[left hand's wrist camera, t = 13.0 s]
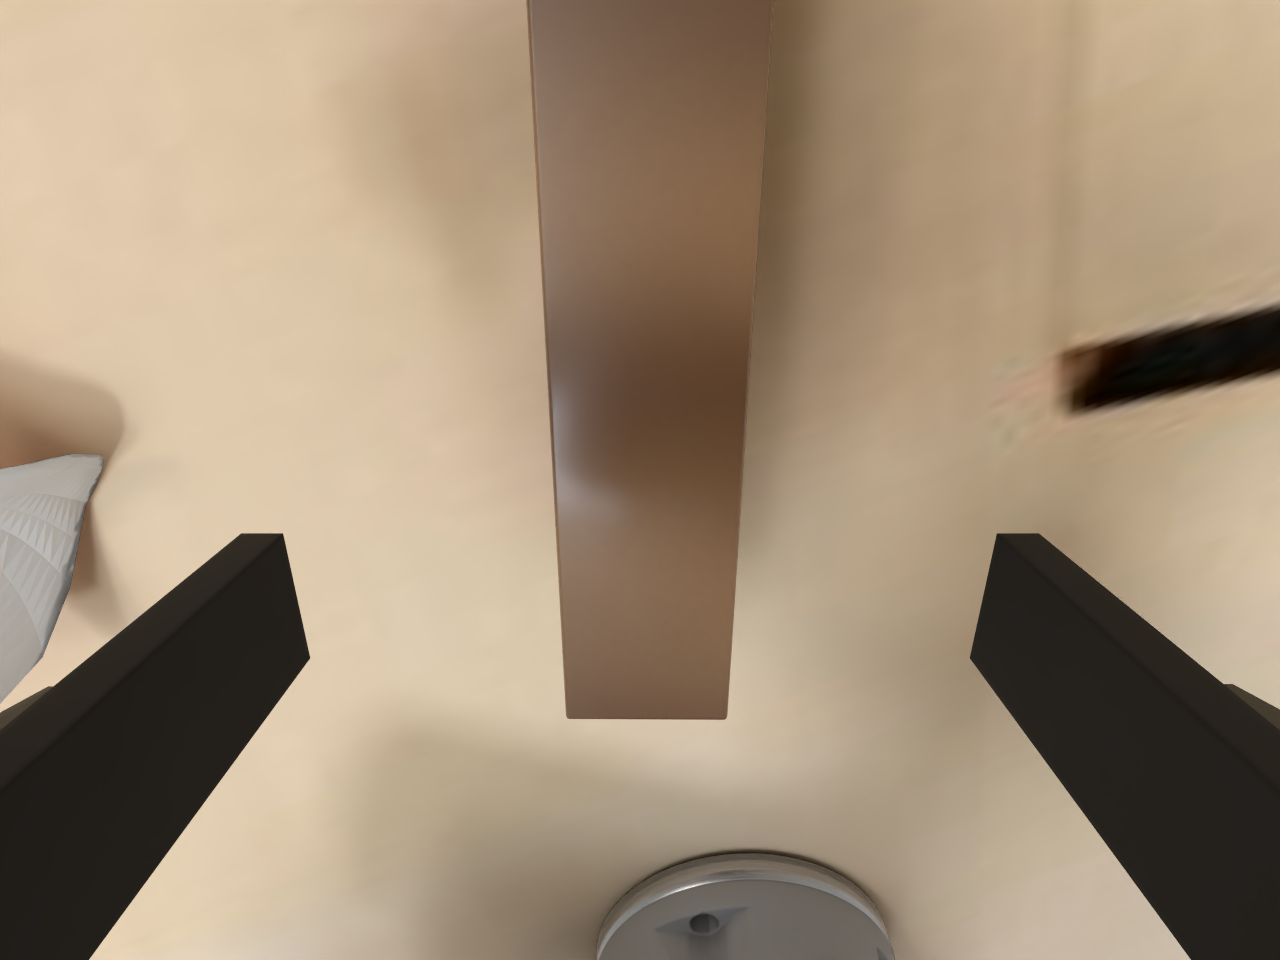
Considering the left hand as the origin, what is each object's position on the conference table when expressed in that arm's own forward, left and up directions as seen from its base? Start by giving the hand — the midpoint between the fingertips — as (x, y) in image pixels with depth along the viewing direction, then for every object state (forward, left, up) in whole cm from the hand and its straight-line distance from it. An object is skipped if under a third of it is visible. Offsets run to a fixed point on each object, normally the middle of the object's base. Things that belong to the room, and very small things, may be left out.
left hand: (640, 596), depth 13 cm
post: (+20, +9, -12) cm, 25 cm away
